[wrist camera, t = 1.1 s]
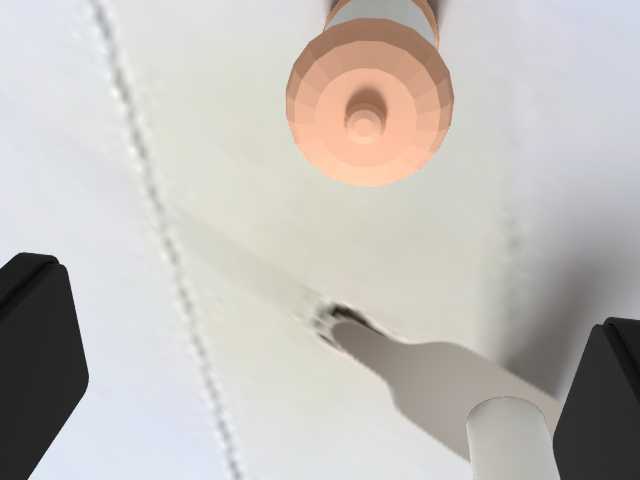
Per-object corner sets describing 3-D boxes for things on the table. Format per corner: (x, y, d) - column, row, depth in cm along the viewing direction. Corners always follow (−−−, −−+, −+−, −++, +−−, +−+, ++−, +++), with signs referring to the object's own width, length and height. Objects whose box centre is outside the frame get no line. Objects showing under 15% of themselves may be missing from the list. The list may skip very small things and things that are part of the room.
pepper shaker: (420, 100, 40) (432, 230, 23) (318, 79, 40) (258, 192, 23) (450, -11, 36) (489, 50, 20) (338, -34, 36) (283, 6, 20)
